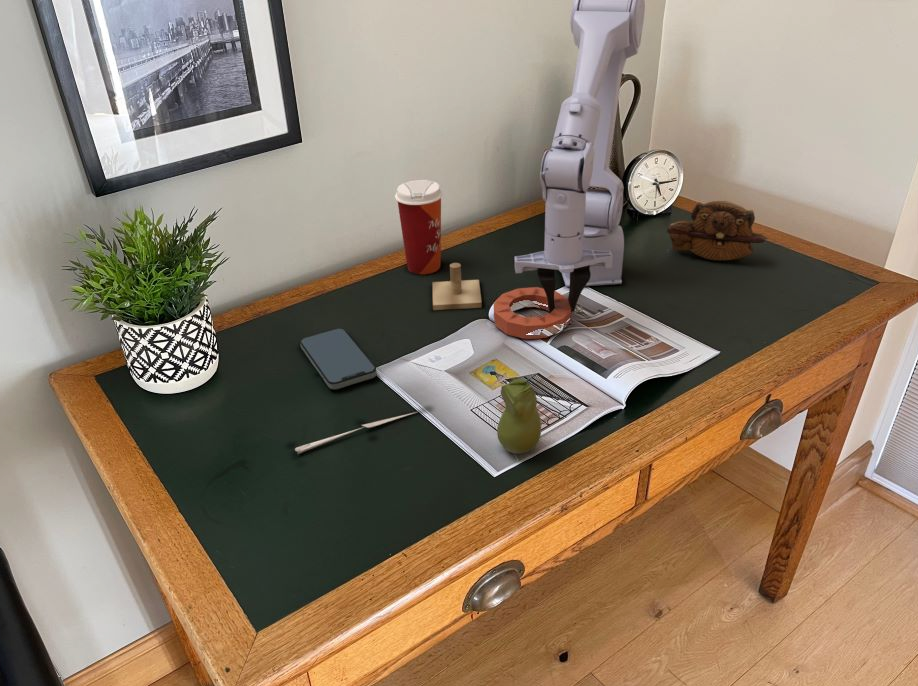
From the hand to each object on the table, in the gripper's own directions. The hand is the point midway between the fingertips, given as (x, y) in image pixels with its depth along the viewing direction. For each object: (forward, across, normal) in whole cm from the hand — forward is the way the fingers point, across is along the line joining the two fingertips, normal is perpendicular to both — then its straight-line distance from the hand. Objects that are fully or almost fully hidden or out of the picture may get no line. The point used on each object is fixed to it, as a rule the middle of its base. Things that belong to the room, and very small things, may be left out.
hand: (561, 309), depth 124 cm
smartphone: (+2, -35, -9) cm, 36 cm away
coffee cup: (+2, -22, +21) cm, 30 cm away
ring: (+1, -5, 0) cm, 5 cm away
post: (+2, -16, +9) cm, 19 cm away
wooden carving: (+2, +29, +18) cm, 34 cm away
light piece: (+2, -30, -26) cm, 40 cm away
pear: (+2, -10, -31) cm, 33 cm away
